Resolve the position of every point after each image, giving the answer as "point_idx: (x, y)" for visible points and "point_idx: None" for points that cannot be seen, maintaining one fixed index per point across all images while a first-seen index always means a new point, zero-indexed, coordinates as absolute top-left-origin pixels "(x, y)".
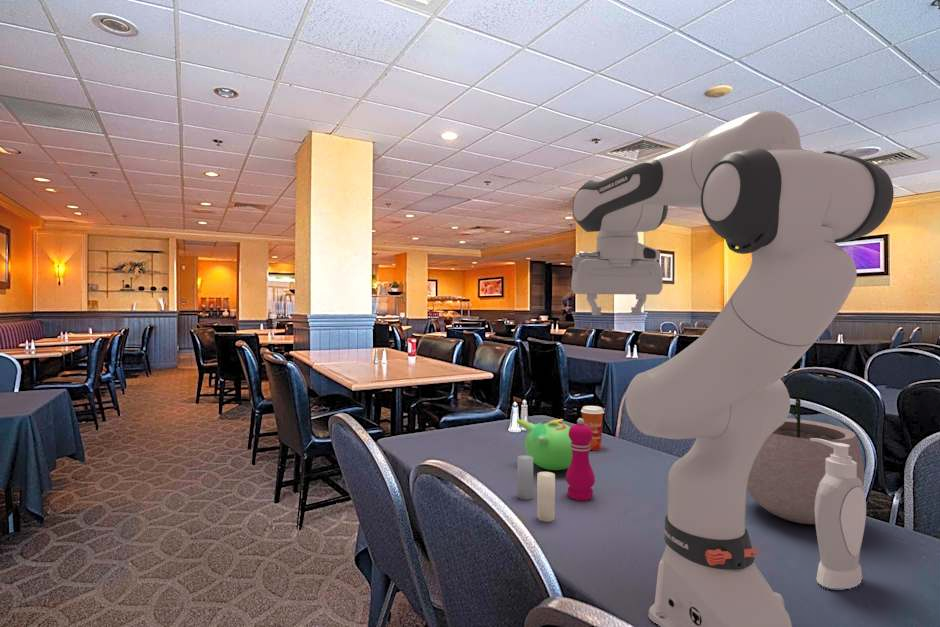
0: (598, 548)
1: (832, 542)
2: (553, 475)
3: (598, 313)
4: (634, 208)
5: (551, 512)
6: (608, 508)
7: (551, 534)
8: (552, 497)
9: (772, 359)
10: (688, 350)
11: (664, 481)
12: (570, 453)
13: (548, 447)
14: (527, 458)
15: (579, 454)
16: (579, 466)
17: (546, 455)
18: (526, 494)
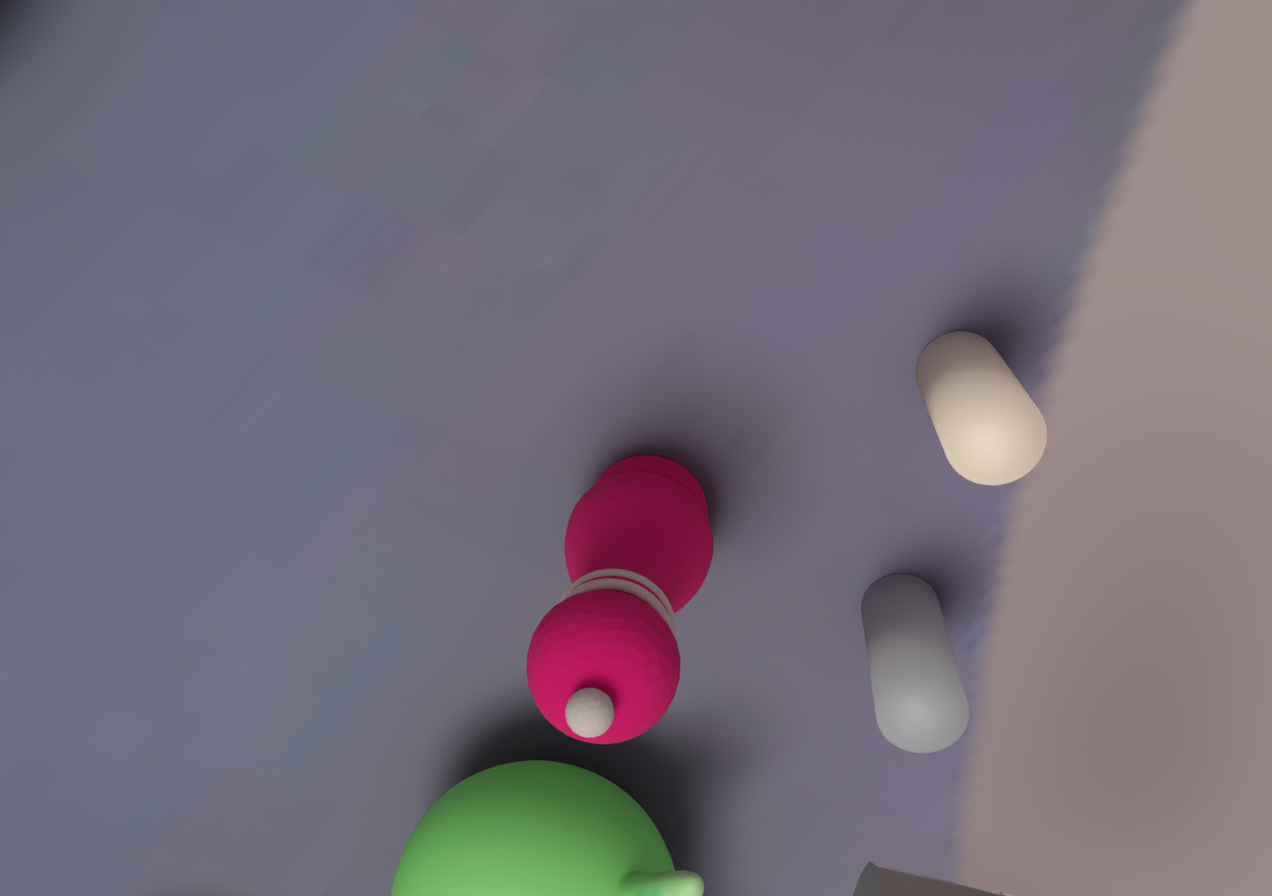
0: (940, 10)
1: None
2: (967, 408)
3: (975, 892)
4: None
5: (964, 340)
6: (615, 339)
7: (1045, 216)
8: (967, 361)
9: None
10: None
11: (147, 485)
12: (525, 783)
13: (633, 854)
14: (919, 697)
15: (651, 580)
16: (662, 545)
17: (648, 829)
18: (919, 588)
